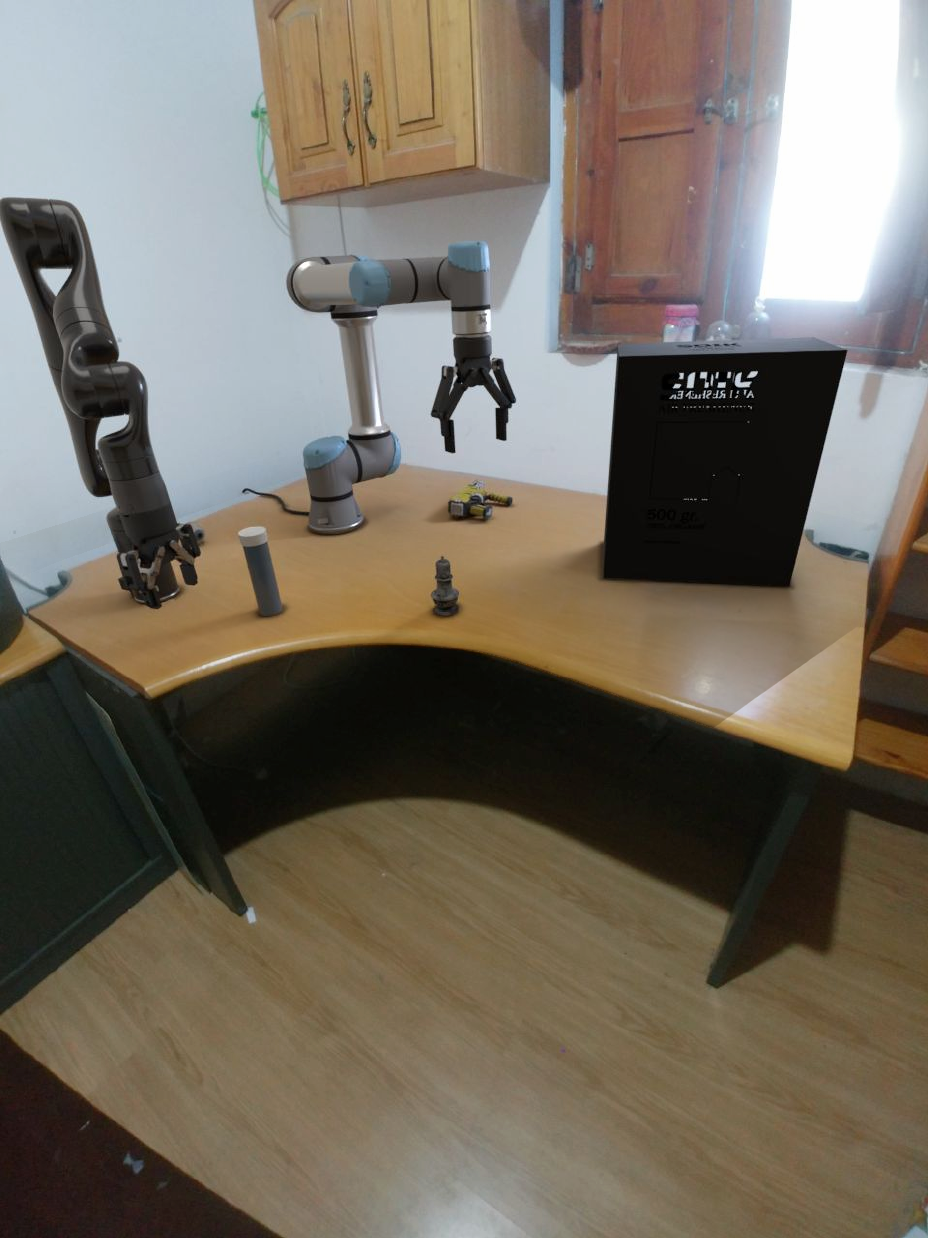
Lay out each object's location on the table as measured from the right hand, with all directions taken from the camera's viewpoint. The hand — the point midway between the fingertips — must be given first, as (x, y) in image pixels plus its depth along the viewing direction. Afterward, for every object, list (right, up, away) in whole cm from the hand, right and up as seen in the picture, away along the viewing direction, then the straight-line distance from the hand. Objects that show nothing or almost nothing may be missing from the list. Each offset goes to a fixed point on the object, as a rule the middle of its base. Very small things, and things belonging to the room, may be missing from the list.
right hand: (476, 445), depth 127 cm
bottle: (-43, -35, 0) cm, 56 cm away
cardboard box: (+48, -24, +10) cm, 55 cm away
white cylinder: (-44, -20, -9) cm, 49 cm away
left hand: (-51, -33, -26) cm, 66 cm away
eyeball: (-75, -17, +35) cm, 84 cm away
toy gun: (+4, -4, +49) cm, 49 cm away
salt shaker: (-6, -35, -3) cm, 35 cm away
